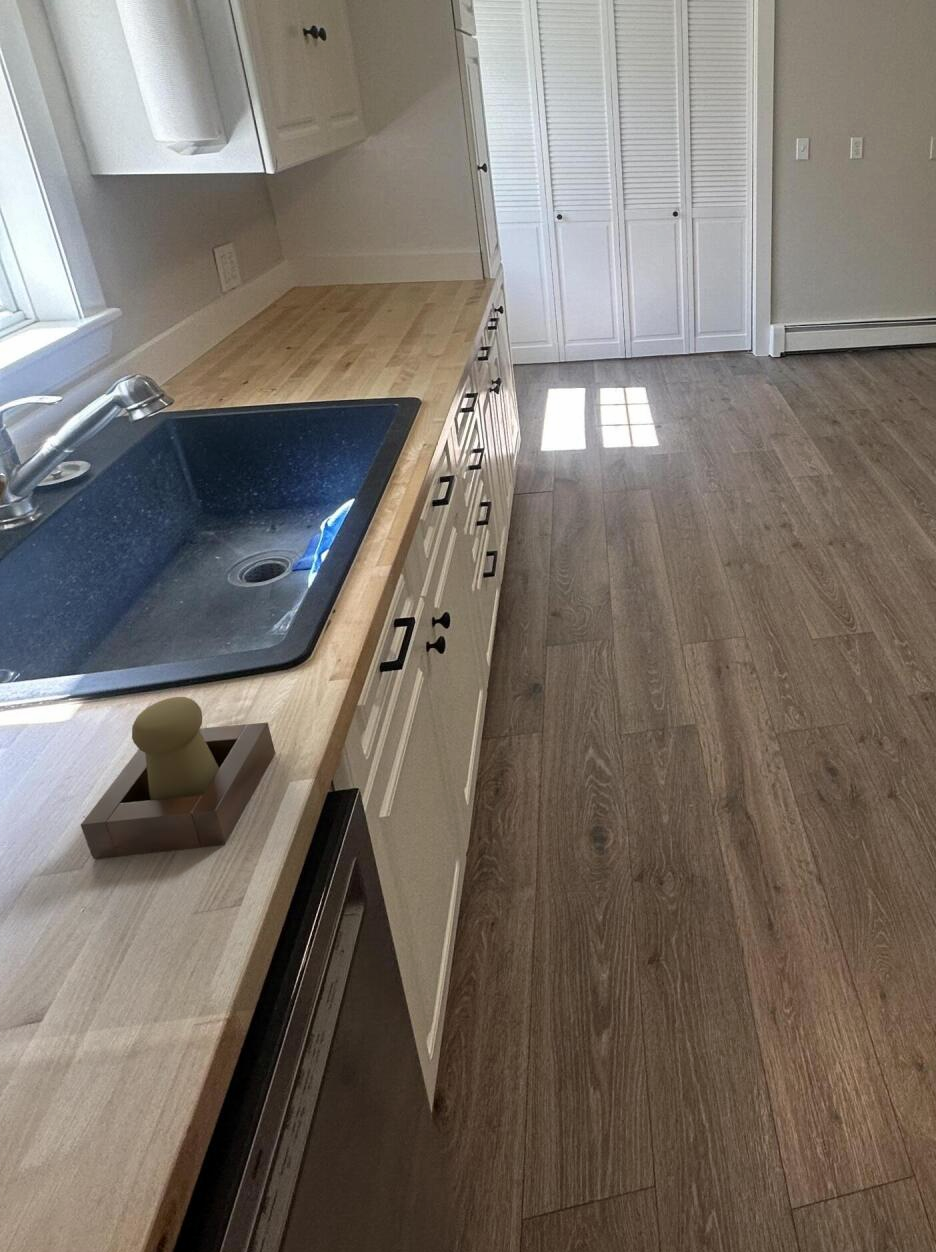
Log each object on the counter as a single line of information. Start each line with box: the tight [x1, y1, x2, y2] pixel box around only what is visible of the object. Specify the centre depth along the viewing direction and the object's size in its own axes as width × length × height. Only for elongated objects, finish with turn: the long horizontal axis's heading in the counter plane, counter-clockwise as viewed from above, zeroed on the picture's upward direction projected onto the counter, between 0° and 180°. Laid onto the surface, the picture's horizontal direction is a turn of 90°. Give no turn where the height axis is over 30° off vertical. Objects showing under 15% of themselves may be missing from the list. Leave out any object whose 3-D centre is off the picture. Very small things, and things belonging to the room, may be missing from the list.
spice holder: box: [80, 722, 276, 860], centre depth 74 cm, size 11×11×4 cm
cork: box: [131, 696, 219, 801], centre depth 73 cm, size 6×6×11 cm
